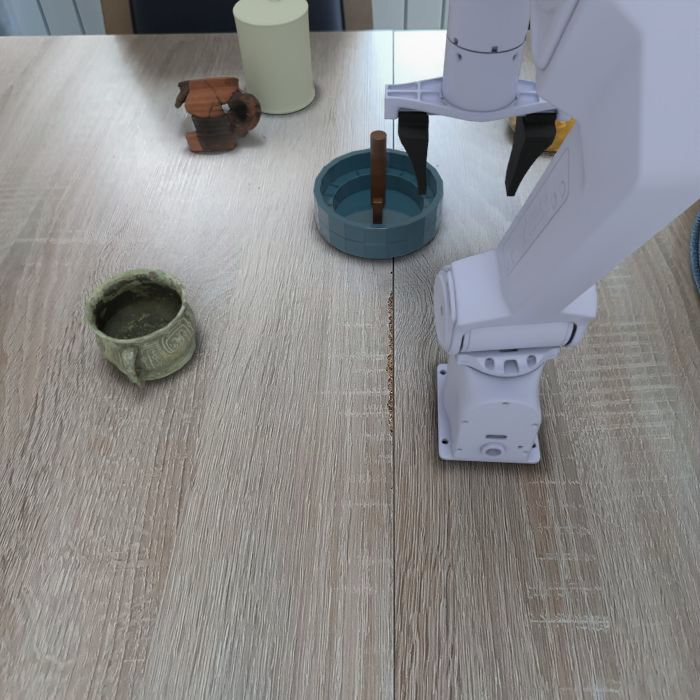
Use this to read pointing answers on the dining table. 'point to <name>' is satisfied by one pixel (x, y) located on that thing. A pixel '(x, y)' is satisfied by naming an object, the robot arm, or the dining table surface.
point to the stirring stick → (378, 173)
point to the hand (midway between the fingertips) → (465, 188)
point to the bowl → (357, 214)
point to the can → (276, 53)
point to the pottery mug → (217, 112)
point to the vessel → (143, 323)
